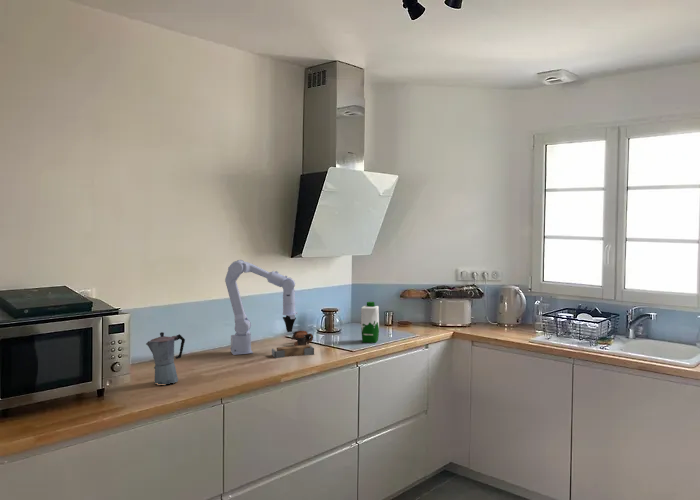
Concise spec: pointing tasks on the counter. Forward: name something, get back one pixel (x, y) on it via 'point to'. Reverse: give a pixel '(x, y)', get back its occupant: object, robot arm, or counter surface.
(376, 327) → the milk carton
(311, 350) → the cap
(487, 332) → the counter surface
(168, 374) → the moka pot
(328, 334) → the counter surface
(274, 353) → the cap
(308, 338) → the pottery mug
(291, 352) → the slat
